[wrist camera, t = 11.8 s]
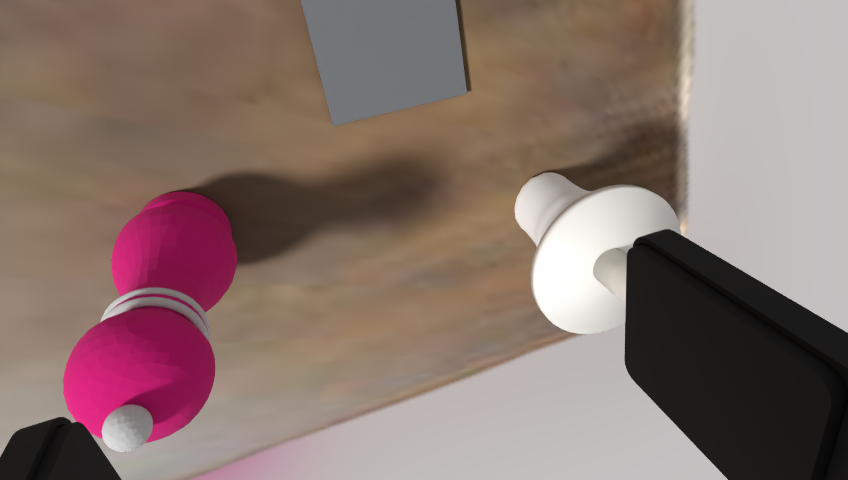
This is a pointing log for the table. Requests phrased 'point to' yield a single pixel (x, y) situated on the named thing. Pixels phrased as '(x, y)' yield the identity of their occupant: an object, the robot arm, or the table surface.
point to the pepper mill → (154, 325)
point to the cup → (544, 202)
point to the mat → (385, 54)
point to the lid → (594, 256)
